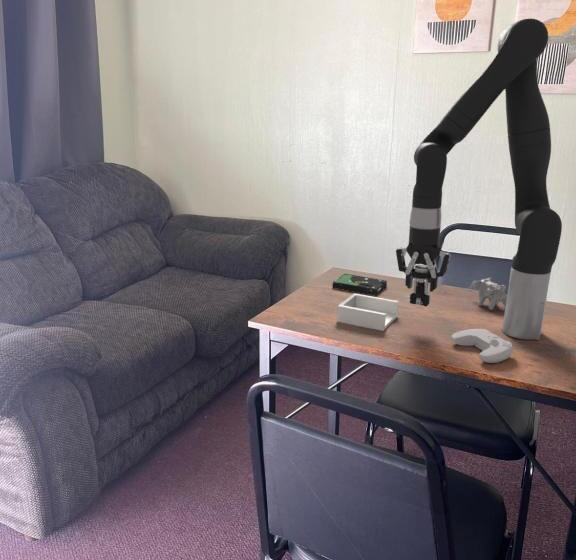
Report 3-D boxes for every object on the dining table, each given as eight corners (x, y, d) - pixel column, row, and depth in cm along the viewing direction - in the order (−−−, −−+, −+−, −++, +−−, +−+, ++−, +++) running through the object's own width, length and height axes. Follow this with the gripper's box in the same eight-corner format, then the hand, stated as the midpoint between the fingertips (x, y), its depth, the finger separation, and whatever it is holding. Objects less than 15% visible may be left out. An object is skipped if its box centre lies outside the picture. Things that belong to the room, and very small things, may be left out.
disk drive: (386, 288, 181) (343, 280, 187) (387, 280, 180) (344, 272, 186) (376, 297, 172) (331, 289, 178) (376, 289, 171) (332, 280, 177)
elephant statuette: (499, 313, 159) (502, 288, 157) (459, 304, 166) (461, 279, 164) (510, 305, 166) (514, 280, 163) (471, 296, 173) (474, 272, 171)
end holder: (397, 316, 155) (398, 301, 154) (383, 331, 145) (384, 314, 143) (353, 308, 161) (354, 293, 159) (337, 321, 151) (337, 305, 149)
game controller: (446, 331, 138) (480, 319, 140) (447, 347, 139) (481, 334, 142) (485, 355, 125) (521, 341, 128) (486, 372, 127) (522, 358, 129)
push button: (401, 304, 145) (403, 267, 142) (407, 298, 150) (409, 262, 147) (427, 308, 142) (429, 270, 139) (432, 302, 147) (435, 265, 144)
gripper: (457, 224, 140) (452, 289, 145) (401, 219, 146) (397, 281, 151) (451, 230, 133) (445, 297, 138) (392, 224, 140) (389, 289, 145)
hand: (420, 289), depth 145 cm, fingers closed on push button, 5 cm apart
